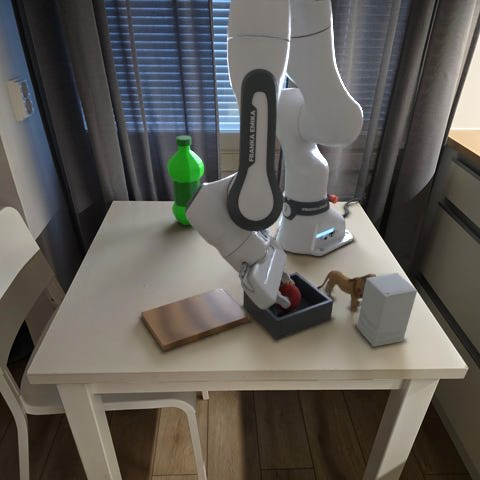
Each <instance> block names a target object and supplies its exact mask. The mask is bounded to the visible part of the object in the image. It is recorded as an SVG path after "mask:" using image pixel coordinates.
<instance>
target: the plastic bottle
mask: <svg viewBox="0 0 480 480" xmlns="http://www.w3.org/2000/svg"><path fill="white" fill-rule="evenodd" d="M192 143H193V142H192V136H191V135H177V136H176V137H175V144H176V146H177V147H178V150H177V151H176V152H175V153H174V154H172V156H171V157H170V158H169V159H168V160H167V164H166V169H167V173H168V176H169V177H170V178H171V180H172V185H173V186H172V187H173V195H174V196H173V197H174V202H173V205H172V207H171V210H172V214H173V216H174V218H175V219H176V221H178V222H179V223H181V225H184V226H192V225H191V224H190V223H189V221H188V220H187V218H186V214H185V209H186V205H187V203H188V202H189V200H190V198H191V197H192V195H193V194H194V192H195V191H196V190H197V188H198V187H199V186H200V185H201V178H202V177H203V175H204V173H205V164H204V162H203V160H202V159H201V158H200V157H199V156H198V155H197V154H196V153H195V152H194V151H192V150H191V145H192Z"/></svg>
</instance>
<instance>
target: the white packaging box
mask: <svg viewBox="0 0 480 480" xmlns="http://www.w3.org/2000/svg"><path fill="white" fill-rule="evenodd" d="M417 293H418V290H417V289H416V288H415V287H414V286H413V285H411V283H409V282H408V281H407V280H406V279H405V278H404V277H403V276H401V275H400V274H399V273H398V272H393V273H386V274H382V275H381V274H380V275H376V277H370V278H366V282H365V288H364V293H363V298H362V299H361V302H360V308H359V312H358V313H359V314H358V317H357V324H356V328H357V329H358V331H359V332H360V333H361V334H362V336H364V337H365V339H366V340H367V342H369V343H370V345H371V346H372V348H374V347H380V346H385V345H390V344H396V343H400V342H403V341H404V340H405V335H406V332H407V328H408V325H409V321H410V318H411V314H412V310H413V308H414V304H415V299H416V297H417Z"/></svg>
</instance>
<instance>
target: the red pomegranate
mask: <svg viewBox="0 0 480 480" xmlns="http://www.w3.org/2000/svg"><path fill="white" fill-rule="evenodd" d="M278 291H279V292H280V293H281V295H282V296H284V297H286V296H287V297H288V298H289V299H290V300H291V305H290V306H289V307H288V308H286V309H285V308H283V307H282V306H281V305H280V304H278V303H275V304H276V306H277V307H278V308H279V309H280V310H282V311H285V312H288V311H292V310H293V309H295V308H296V307H297V306H298V305H299V303H300V299H301V295H300V292H299V290H298V288H297V287H296V286H295V285H293V284H292V281H291V280H288V281H287V282H286V284H283V285H281V286H280V287H279V290H278Z"/></svg>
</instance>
